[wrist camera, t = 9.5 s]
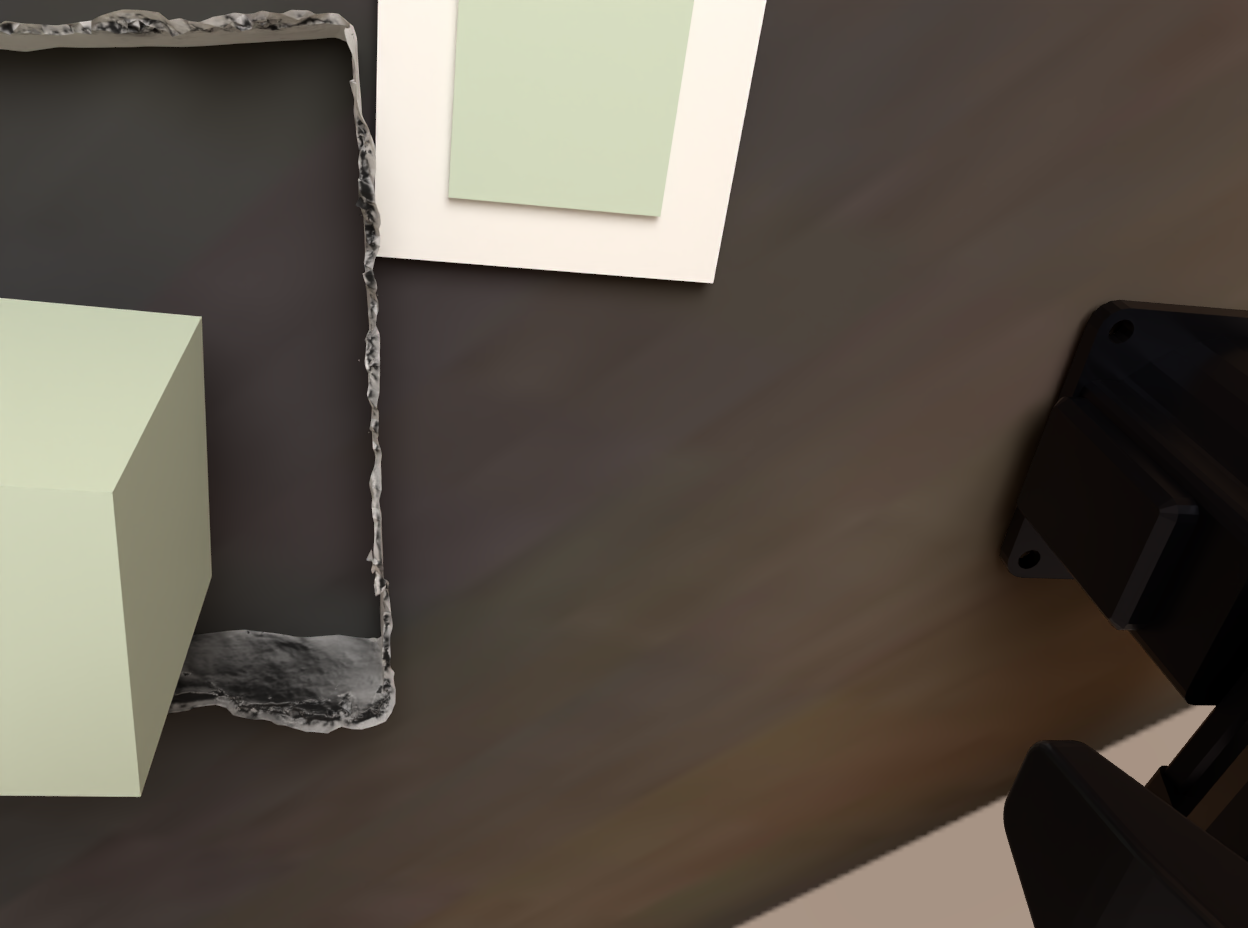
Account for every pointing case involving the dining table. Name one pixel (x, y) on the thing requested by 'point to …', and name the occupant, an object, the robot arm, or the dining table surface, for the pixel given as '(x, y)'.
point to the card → (561, 131)
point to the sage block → (96, 539)
